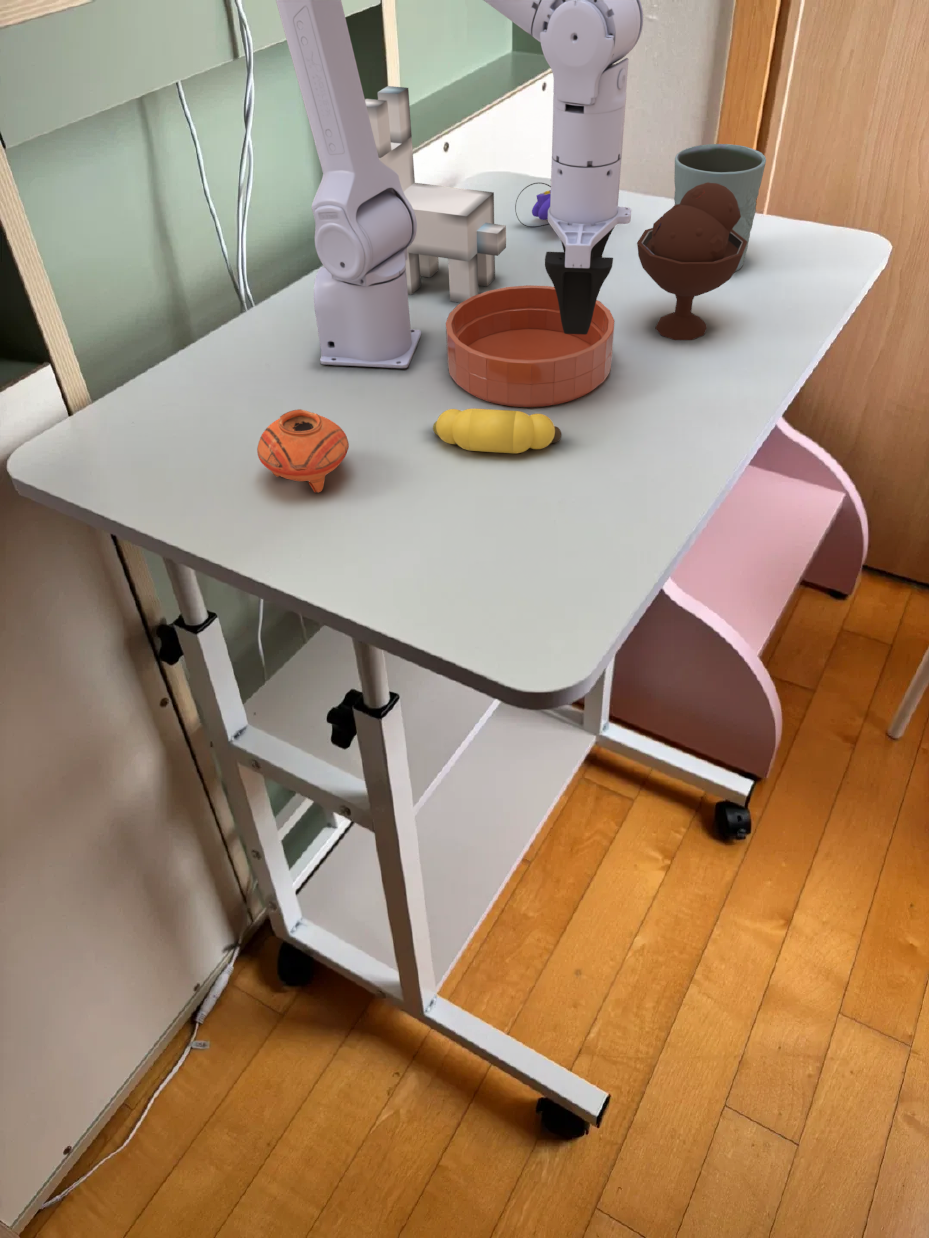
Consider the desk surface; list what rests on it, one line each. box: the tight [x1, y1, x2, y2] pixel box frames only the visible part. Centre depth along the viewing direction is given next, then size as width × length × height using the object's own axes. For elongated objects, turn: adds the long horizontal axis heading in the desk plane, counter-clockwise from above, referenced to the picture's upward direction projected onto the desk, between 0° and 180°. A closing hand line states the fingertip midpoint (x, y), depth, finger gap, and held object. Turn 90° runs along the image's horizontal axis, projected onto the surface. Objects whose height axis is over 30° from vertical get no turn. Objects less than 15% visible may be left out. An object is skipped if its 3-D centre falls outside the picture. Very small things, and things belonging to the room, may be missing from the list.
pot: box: [256, 408, 350, 494], centre depth 84 cm, size 8×8×7 cm
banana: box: [432, 407, 562, 454], centre depth 87 cm, size 12×4×4 cm, turn 81°
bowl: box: [445, 284, 615, 408], centre depth 98 cm, size 17×17×5 cm
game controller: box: [514, 182, 551, 228], centre depth 124 cm, size 10×8×10 cm
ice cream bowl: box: [636, 182, 747, 341], centre depth 99 cm, size 11×11×15 cm
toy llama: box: [365, 85, 507, 304], centre depth 108 cm, size 8×18×20 cm, turn 66°
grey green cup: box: [673, 143, 767, 273], centre depth 113 cm, size 10×10×12 cm
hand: (578, 313), depth 88 cm, fingers open, 7 cm apart
